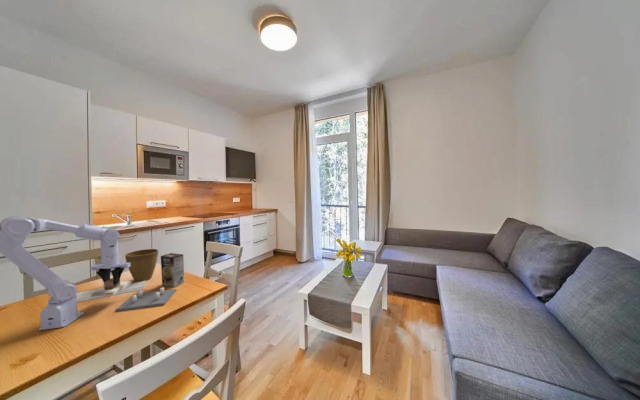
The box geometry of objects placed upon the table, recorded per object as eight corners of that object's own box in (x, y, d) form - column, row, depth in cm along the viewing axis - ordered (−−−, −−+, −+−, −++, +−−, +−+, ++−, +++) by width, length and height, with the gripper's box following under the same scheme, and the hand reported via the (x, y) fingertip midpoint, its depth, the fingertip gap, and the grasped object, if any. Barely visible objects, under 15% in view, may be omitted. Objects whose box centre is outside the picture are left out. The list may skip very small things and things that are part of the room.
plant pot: (147, 284, 119) (146, 255, 118) (119, 285, 118) (117, 256, 117) (165, 273, 133) (164, 248, 133) (140, 274, 133) (138, 248, 132)
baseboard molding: (142, 291, 112) (146, 283, 122) (142, 286, 111) (146, 278, 122) (53, 309, 96) (66, 298, 106) (52, 303, 96) (66, 292, 106)
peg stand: (164, 304, 97) (164, 296, 97) (116, 311, 92) (115, 302, 92) (176, 290, 111) (176, 283, 110) (134, 295, 106) (134, 287, 106)
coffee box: (161, 285, 117) (159, 256, 116) (172, 280, 123) (171, 252, 122) (174, 287, 115) (172, 257, 114) (185, 282, 121) (183, 253, 120)
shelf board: (113, 295, 94) (112, 284, 94) (91, 297, 93) (90, 286, 92) (131, 283, 106) (130, 273, 106) (112, 284, 105) (111, 275, 104)
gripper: (134, 251, 104) (135, 279, 104) (98, 253, 101) (100, 281, 102) (123, 255, 97) (125, 285, 97) (85, 258, 94) (87, 288, 95)
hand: (112, 284), depth 99 cm, fingers closed on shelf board, 3 cm apart
